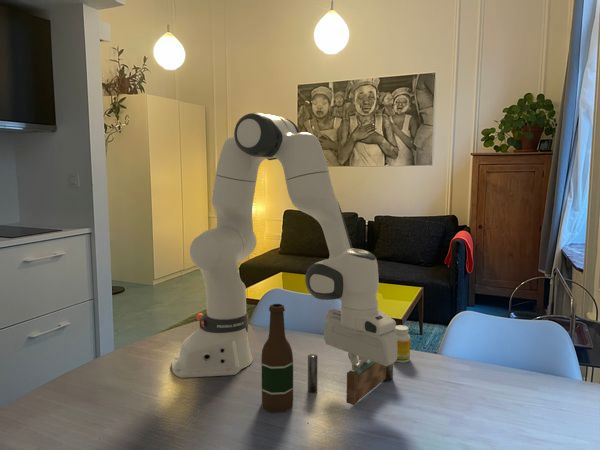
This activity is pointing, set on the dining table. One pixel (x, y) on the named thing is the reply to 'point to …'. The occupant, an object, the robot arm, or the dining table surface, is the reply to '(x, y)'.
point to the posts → (313, 373)
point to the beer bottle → (277, 365)
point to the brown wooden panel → (364, 380)
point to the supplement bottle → (402, 343)
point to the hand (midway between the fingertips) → (358, 371)
